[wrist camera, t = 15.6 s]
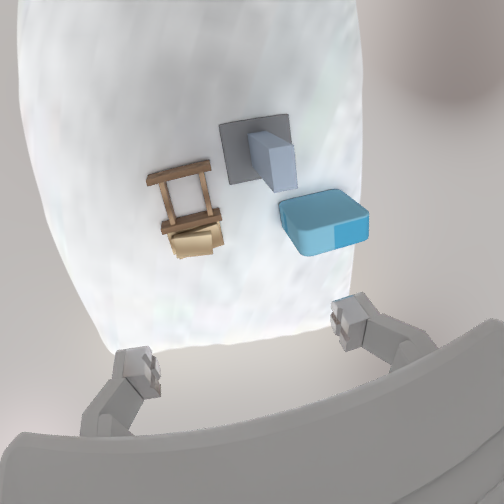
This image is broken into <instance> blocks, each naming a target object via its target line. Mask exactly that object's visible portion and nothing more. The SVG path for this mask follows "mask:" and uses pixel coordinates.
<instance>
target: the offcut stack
mask: <svg viewBox="0 0 504 504" xmlns="http://www.w3.org/2000/svg"><path fill="white" fill-rule="evenodd" d="M167 235H168V238H169V241H170V244H171V248H172V251H173V254H174V255H175V254H176V256H177V258H180V259H183V258H186V257H192V256H201V255H210V254H213V248H215V247H218V246H221V245H224V241H223V236H222V232H221V227H220V223H219V221H218V222H213V223H209V224H205V225H201V226H196V227H192V228H188V229H184V230H180V231H176V232H172V233H168V234H167Z"/></svg>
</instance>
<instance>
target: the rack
mask: <svg viewBox="0 0 504 504" xmlns="http://www.w3.org/2000/svg"><path fill="white" fill-rule="evenodd" d="M207 171H211V165H210V161H209V160H206V161H202V162H197V163H193V164H189V165H185V166H181V167H177V168H173V169H169V170H165V171H161V172H158V173H154V174H150V175H148V177H147V179H146V183H147V186H151V185H155V184H158V183H159V186H160V190H161V194H162V197H163V201H164V204H165V208H166V211H167V214H168V218H169V220H167V221H163V222H162V225H161V232H162V235H164V234H168V233H172V232H176V231H180V230H184V229H188V228H192V227H196V226H201V225H205V224H209V223H213V222H218V221H222V217H221V213H220V209H219V208H216V209H212V207H211V202H210V198H209V193H208V189H207V184H206V179H205V175H204V172H207ZM198 173H199V177H200V182H201V186H202V190H203V195H204V199H205V203H206V208H207V211H203V212H199V213H195V214H191V215H187V216H183V217H179V218H176V217H175V213H174V210H173V206H172V202H171V199H170V195H169V191H168V188H167V184H166V181H170V180H174V179H177V178H181V177H186V176H190V175H194V174H198Z"/></svg>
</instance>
